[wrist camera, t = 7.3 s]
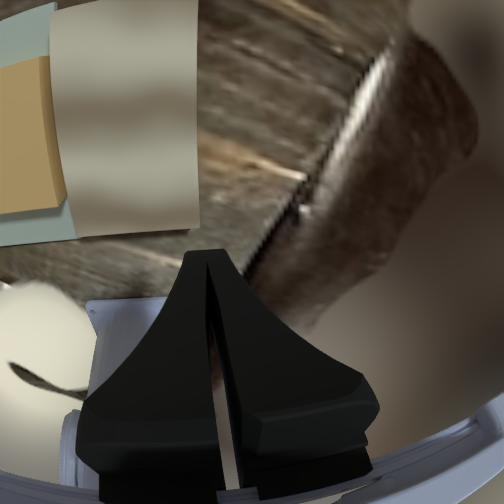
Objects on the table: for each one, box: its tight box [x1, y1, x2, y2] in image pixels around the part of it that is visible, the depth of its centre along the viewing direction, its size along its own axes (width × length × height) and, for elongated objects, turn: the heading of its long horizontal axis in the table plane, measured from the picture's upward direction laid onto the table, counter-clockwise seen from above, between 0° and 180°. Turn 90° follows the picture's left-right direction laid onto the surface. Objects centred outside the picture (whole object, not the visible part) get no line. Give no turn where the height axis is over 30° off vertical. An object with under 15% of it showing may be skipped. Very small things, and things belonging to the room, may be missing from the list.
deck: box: [49, 0, 200, 237], centre depth 16 cm, size 14×8×2 cm, turn 178°
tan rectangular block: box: [0, 55, 67, 214], centre depth 14 cm, size 9×6×2 cm, turn 177°
